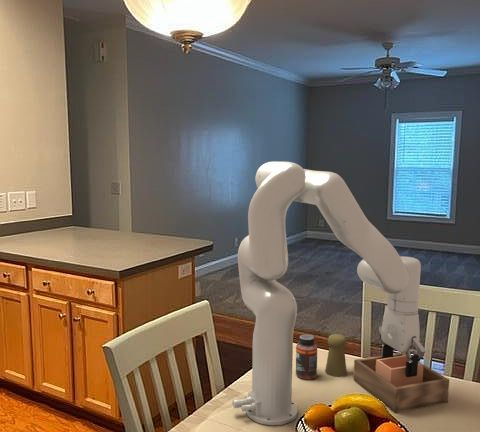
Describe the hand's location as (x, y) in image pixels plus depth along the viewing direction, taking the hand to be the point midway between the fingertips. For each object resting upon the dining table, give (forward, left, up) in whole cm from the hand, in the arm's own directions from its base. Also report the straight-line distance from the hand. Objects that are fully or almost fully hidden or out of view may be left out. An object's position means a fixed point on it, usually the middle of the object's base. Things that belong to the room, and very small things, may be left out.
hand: (398, 368), depth 127 cm
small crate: (0, 0, -5) cm, 5 cm away
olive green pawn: (-10, +15, -7) cm, 19 cm away
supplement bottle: (-19, +16, -7) cm, 25 cm away
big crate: (0, 0, -6) cm, 6 cm away
